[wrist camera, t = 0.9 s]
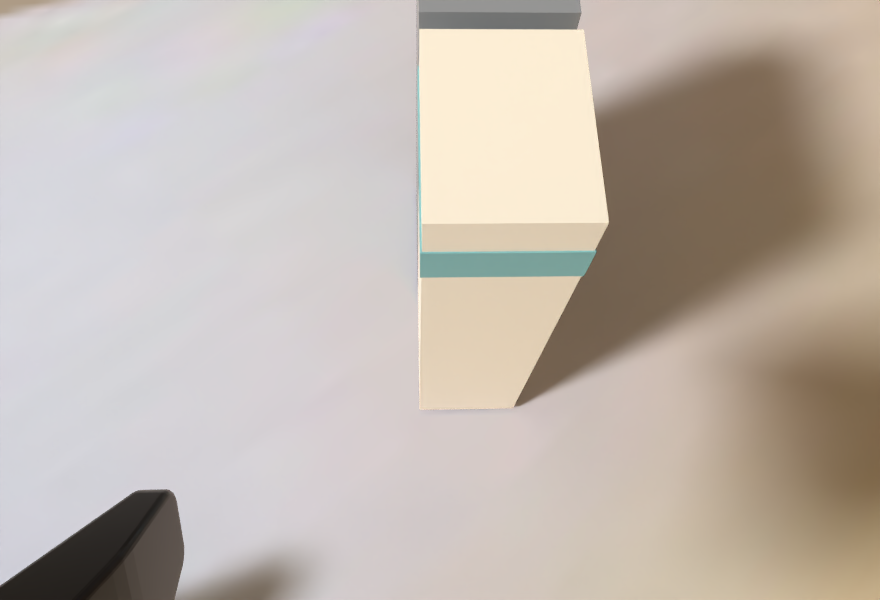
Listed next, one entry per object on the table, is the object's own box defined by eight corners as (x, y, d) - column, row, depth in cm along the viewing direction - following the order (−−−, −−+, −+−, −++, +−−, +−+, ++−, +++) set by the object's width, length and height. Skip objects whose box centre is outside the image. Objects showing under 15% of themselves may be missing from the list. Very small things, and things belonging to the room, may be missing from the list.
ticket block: (504, 286, 25) (581, 15, 13) (417, 287, 24) (419, 13, 13) (497, 186, 26) (562, -136, 15) (416, 187, 26) (416, -138, 14)
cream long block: (513, 409, 23) (611, 224, 11) (418, 410, 23) (420, 225, 11) (506, 293, 24) (585, 28, 13) (417, 293, 24) (417, 27, 13)
